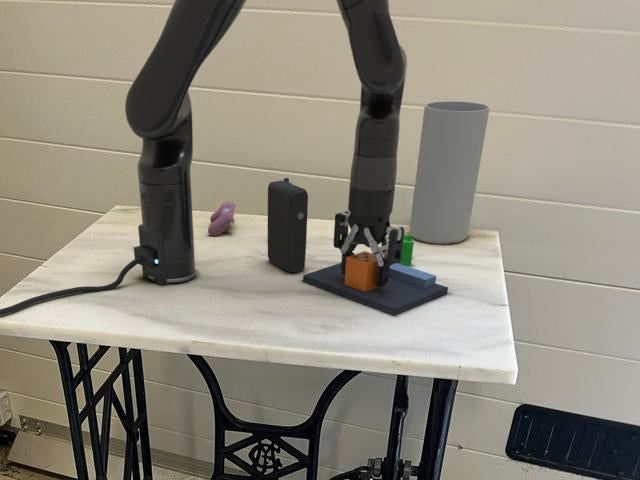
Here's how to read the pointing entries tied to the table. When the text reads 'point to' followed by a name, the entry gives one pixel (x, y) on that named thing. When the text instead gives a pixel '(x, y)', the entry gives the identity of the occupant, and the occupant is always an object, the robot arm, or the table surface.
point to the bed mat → (383, 288)
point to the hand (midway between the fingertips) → (363, 279)
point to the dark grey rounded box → (287, 225)
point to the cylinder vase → (447, 170)
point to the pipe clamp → (407, 251)
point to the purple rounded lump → (222, 218)
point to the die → (361, 271)
